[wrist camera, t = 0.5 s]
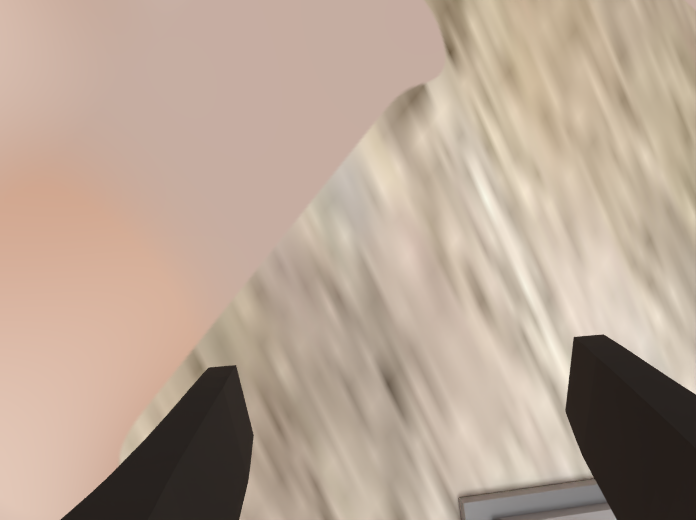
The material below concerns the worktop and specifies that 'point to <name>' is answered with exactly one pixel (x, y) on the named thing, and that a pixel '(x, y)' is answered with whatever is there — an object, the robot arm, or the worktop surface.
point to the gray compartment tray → (540, 503)
